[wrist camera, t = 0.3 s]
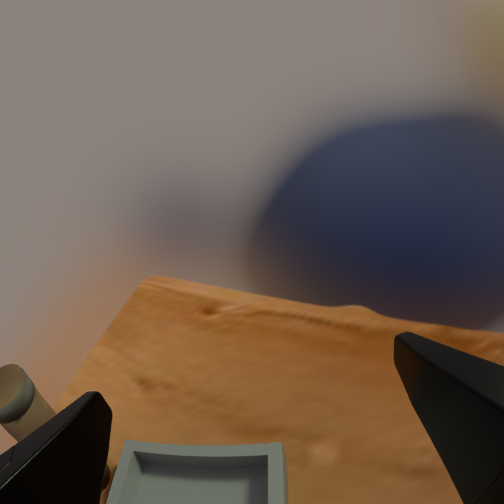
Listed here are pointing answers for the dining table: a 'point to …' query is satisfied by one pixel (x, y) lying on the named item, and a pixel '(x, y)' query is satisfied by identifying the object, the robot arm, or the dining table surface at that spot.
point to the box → (200, 474)
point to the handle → (25, 406)
